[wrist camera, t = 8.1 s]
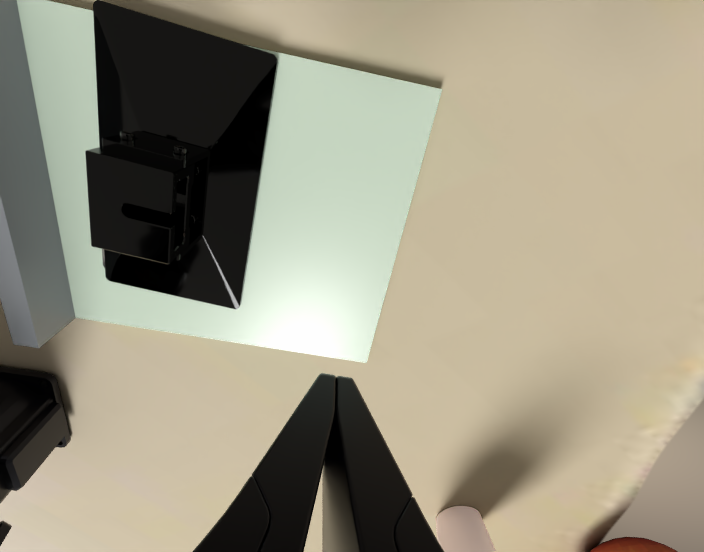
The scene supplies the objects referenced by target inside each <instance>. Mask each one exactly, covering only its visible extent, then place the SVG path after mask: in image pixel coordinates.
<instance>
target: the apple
mask: <svg viewBox="0 0 704 552" xmlns="http://www.w3.org/2000/svg"><path fill="white" fill-rule="evenodd" d="M590 552H677V551H676V550H674V549H672V548H670V547H668V546H666V545H664V544H661V543H658V542H655V541H652V540H649V539H645V538H637V537H636V538H635V537H623V538H615V539H612V540H609V541H606V542H603V543H601V544H600V545H598V546H596V547H595V548H593V549H592V550H591V551H590Z"/></svg>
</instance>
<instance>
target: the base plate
mask: <svg viewBox="0 0 704 552" xmlns="http://www.w3.org/2000/svg"><path fill="white" fill-rule="evenodd" d="M242 45H243V44H242ZM246 46H248V45H246ZM249 47H252V46H249ZM252 48H255V49H258V50H262V51H265V52H268V53H271V54H274V55H275V56H276V57H277V58H278V69H277V75H276V82H275V88H274V95H273V101H272V108H271V114H270V121H269V127H268V133H267V140H266V146H265V153H264V159H263V166H262V172H261V179H260V185H259V192H258V198H257V205H256V211H255V218H254V224H253V231H252V237H251V244H250V250H249V257H248V263H247V270H246V276H245V283H244V289H243V295H242V302H241V305H240V307H239V308H238V309H232V308H227V307H223V306H218V305H214V304H209V303H205V302H200V301H196V300H191V299H187V298H182V297H178V296H173V295H169V294H164V293H160V292H156V291H151V290H147V289H142V288H138V287H133V286H129V285H124V284H120V283H115V282H111V281H109V280H107V279H106V276H105V268H104V266H103V260H102V249H100V248H96V247H92V246H91V234H90V218H89V202H88V187H87V171H86V155H85V151H86V150H90V149H94V148H98V147H100V146H99V125H98V103H97V81H96V59H95V37H94V16H93V11H92V10H88V9H84V8H79V7H75V6H70V5H66V4H61V3H57V2H52V1H48V0H0V300H1V303H2V307H3V310H4V314H5V317H6V321H7V324H8V327H9V331H10V334H11V338H12V341H13V344H14V345H20V346H27V347H34V348H40V347H41V346H42V345H44V344H45V343H46V342H47V341H48V340H49V339H51V338H52V337H53V336H54V335H55V334H57V333H58V332H59V331H60V330H61V329H63V328H64V327H65V326H66V325H67V324H69V323H70V322H71V321H72V320H73V319H75V318H80V319H87V320H93V321H100V322H106V323H113V324H119V325H126V326H132V327H138V328H145V329H151V330H158V331H164V332H171V333H177V334H183V335H190V336H196V337H203V338H209V339H216V340H222V341H228V342H235V343H241V344H248V345H254V346H261V347H267V348H274V349H280V350H286V351H293V352H299V353H306V354H312V355H319V356H325V357H331V358H338V359H344V360H351V361H357V362H364V363H367V359H368V356H369V352H370V348H371V345H372V341H373V338H374V334H375V330H376V327H377V323H378V320H379V316H380V312H381V309H382V305H383V301H384V298H385V294H386V291H387V287H388V283H389V280H390V276H391V273H392V269H393V265H394V262H395V258H396V255H397V251H398V247H399V244H400V240H401V236H402V233H403V229H404V226H405V222H406V218H407V215H408V211H409V208H410V204H411V200H412V197H413V193H414V189H415V186H416V182H417V179H418V175H419V171H420V168H421V164H422V161H423V157H424V153H425V150H426V146H427V143H428V139H429V135H430V132H431V128H432V124H433V121H434V117H435V114H436V110H437V106H438V103H439V99H440V96H441V92H442V89H438V88H434V87H430V86H425V85H421V84H416V83H412V82H407V81H403V80H399V79H394V78H390V77H385V76H381V75H376V74H372V73H368V72H363V71H359V70H354V69H350V68H345V67H341V66H336V65H332V64H328V63H323V62H319V61H314V60H310V59H305V58H301V57H297V56H292V55H288V54H283V53H279V52H274V51H270V50H265V49H261V48H257V47H252Z"/></svg>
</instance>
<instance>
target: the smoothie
mask: <svg viewBox="0 0 704 552" xmlns="http://www.w3.org/2000/svg"><path fill="white" fill-rule="evenodd" d="M436 529H437V540H438V542H439V544H440V545H441V547H442V549H443V550H444V552H496V550H495V548H494V545H493V543H492V541H491V538H490V536H489V533H488V531H487V529H486V526H485V524H484V522H483V519H482V517H481V514H480V513H479V511H478V510H476V509H474V508H472V507H468V506H454V507H450V508H447V509H445V510H443V511H442V512H440V513H439V514H438V516H437V517H436Z"/></svg>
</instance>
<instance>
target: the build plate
mask: <svg viewBox="0 0 704 552" xmlns="http://www.w3.org/2000/svg"><path fill="white" fill-rule="evenodd" d="M93 16H94V37H95V59H96V81H97V103H98V125H99V146H100V147H98V148H94V149H90V150H86V151H85V155H86V171H87V187H88V202H89V218H90V234H91V246H92V247H96V248H100V249H102V260H103V266H104V268H105V276H106V279H107V280H109V281H111V282H115V283H120V284H124V285H129V286H133V287H138V288H142V289H147V290H151V291H156V292H160V293H164V294H169V295H173V296H178V297H182V298H187V299H191V300H196V301H200V302H205V303H209V304H214V305H218V306H223V307H227V308H232V309H238V308H239V307H240V305H241V302H242V295H243V289H244V283H245V276H246V270H247V263H248V257H249V250H250V244H251V237H252V231H253V224H254V218H255V211H256V205H257V198H258V192H259V185H260V179H261V172H262V166H263V159H264V153H265V146H266V140H267V133H268V127H269V121H270V114H271V108H272V101H273V95H274V88H275V82H276V75H277V69H278V58H277V57H276V56H275V55H274V54H271V53H268V52H265V51H262V50H258V49H255V48H252V47H249V46H246V45H242V44H239V43H236V42H233V41H229V40H226V39H223V38H220V37H216V36H213V35H210V34H207V33H204V32H200V31H197V30H194V29H191V28H187V27H184V26H181V25H178V24H174V23H171V22H168V21H165V20H161V19H158V18H155V17H152V16H149V15H145V14H142V13H139V12H136V11H132V10H129V9H126V8H123V7H119V6H116V5H113V4H110V3H106V2H103V1H100V0H97V1H95V2H94V4H93Z"/></svg>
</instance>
